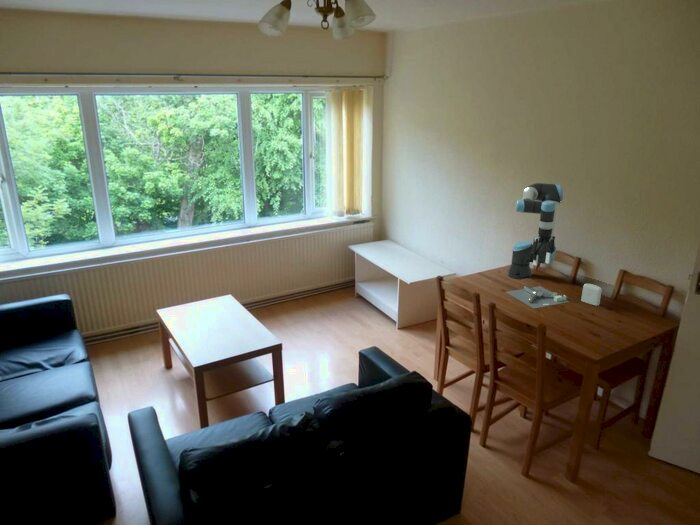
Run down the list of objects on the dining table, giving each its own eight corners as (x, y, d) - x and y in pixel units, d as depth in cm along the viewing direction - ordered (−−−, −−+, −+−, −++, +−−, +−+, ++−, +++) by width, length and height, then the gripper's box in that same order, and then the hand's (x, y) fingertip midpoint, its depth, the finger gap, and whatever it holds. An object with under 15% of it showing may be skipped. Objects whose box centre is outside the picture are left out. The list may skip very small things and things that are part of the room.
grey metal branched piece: (538, 286, 314) (538, 281, 313) (559, 297, 297) (560, 292, 296) (509, 291, 307) (509, 286, 306) (529, 303, 290) (530, 298, 289)
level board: (539, 287, 316) (540, 281, 314) (569, 303, 293) (570, 296, 291) (505, 293, 308) (506, 286, 306) (533, 310, 284) (534, 302, 283)
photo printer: (579, 302, 294) (582, 283, 290) (583, 300, 296) (586, 281, 292) (596, 308, 286) (600, 288, 282) (600, 306, 289) (603, 286, 285)
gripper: (555, 224, 300) (551, 260, 308) (526, 228, 293) (522, 264, 301) (564, 227, 293) (559, 263, 301) (535, 231, 287) (530, 268, 294)
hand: (541, 264), depth 301 cm, fingers open, 8 cm apart
